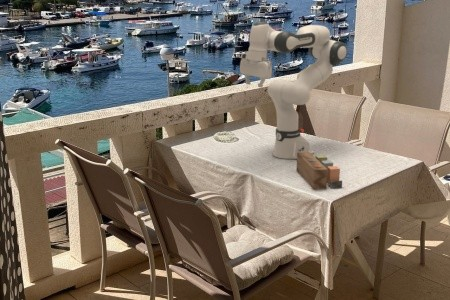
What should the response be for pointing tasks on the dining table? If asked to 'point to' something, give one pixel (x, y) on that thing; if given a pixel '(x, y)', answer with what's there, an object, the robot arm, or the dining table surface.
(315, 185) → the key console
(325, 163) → the slate key
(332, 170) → the terracotta key
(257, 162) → the dining table surface
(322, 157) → the olive key
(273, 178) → the dining table surface
